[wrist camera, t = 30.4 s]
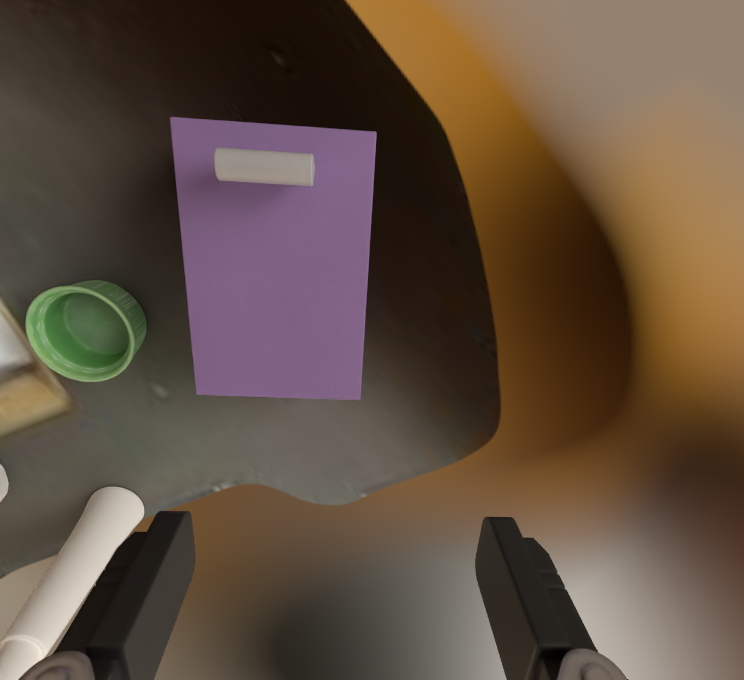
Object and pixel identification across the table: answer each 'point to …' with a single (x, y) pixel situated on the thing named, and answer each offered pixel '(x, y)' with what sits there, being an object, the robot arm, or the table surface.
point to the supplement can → (3, 483)
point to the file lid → (275, 255)
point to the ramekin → (86, 329)
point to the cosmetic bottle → (69, 578)
